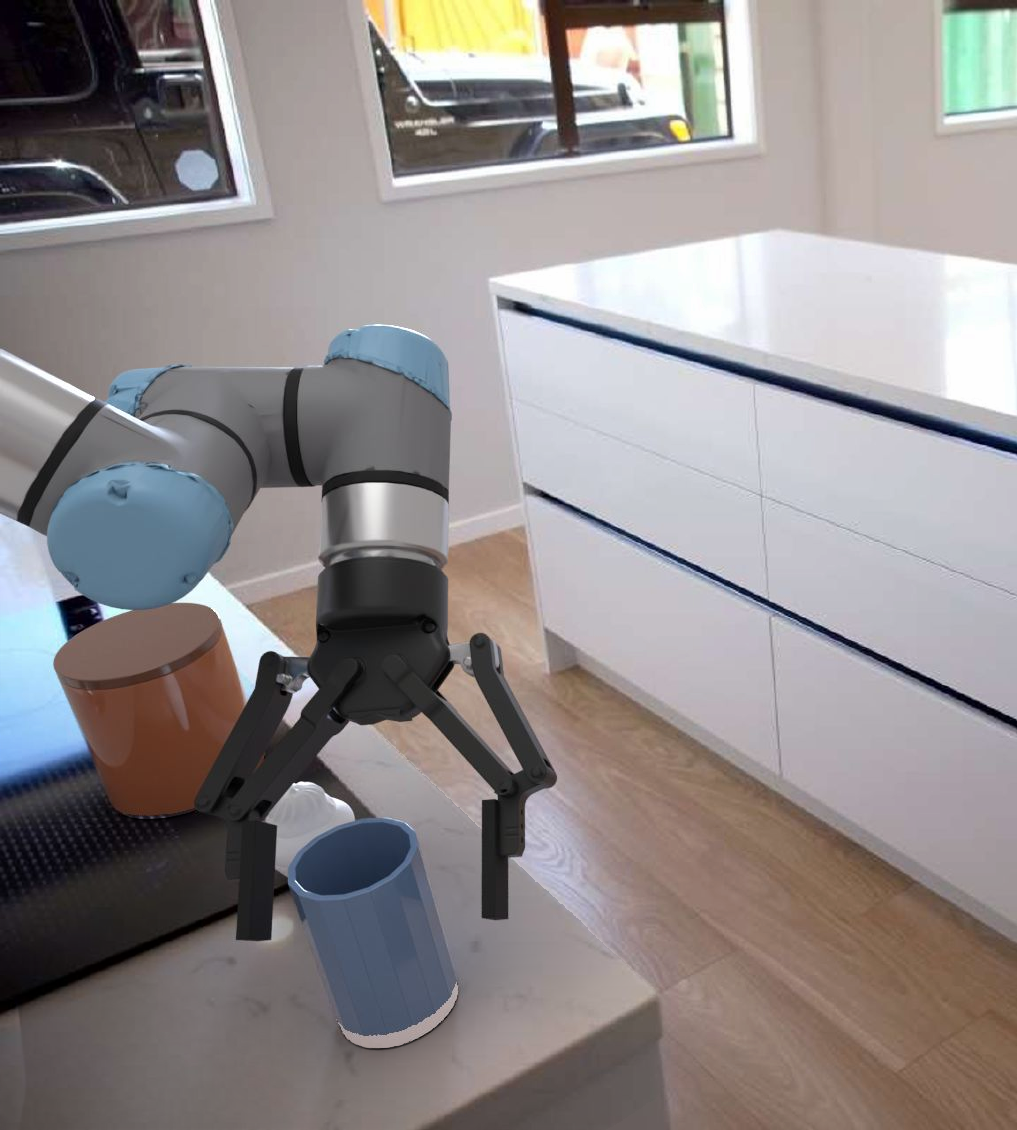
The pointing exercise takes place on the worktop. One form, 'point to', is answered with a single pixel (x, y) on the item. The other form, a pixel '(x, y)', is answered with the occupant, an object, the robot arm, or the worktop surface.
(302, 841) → the muffin
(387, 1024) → the cup
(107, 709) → the canister
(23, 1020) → the worktop surface
